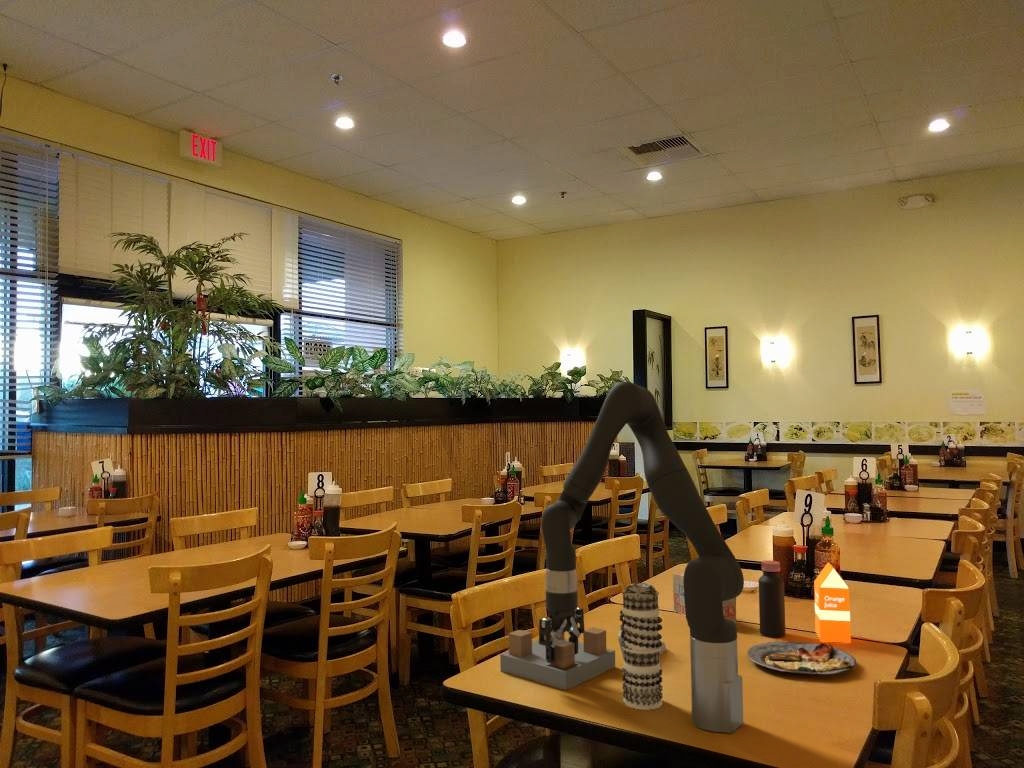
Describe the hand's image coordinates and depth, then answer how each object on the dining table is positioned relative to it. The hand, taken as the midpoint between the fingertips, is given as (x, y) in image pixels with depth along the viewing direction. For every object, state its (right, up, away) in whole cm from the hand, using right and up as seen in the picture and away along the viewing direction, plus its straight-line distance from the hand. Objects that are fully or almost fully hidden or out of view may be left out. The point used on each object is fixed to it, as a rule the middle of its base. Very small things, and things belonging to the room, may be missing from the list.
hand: (562, 658), depth 174 cm
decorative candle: (+16, -5, -13) cm, 21 cm away
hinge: (+22, -6, +18) cm, 29 cm away
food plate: (+60, -6, +10) cm, 61 cm away
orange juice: (+76, -6, +31) cm, 82 cm away
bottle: (+61, -6, +35) cm, 70 cm away
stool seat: (0, -6, +9) cm, 11 cm away
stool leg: (0, -6, 0) cm, 6 cm away
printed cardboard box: (+46, -7, +51) cm, 69 cm away
